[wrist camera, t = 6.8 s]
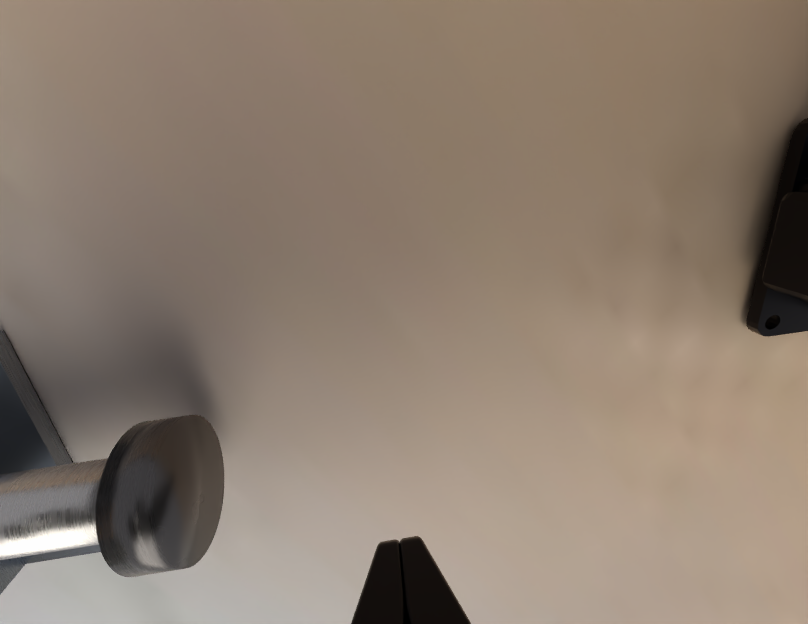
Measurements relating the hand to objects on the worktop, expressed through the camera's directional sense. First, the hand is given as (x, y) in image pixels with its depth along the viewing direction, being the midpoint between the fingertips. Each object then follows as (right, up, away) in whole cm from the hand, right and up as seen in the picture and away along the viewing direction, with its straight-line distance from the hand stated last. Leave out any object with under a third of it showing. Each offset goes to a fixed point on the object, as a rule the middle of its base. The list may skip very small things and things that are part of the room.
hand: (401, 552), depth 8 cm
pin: (-11, 0, +4) cm, 12 cm away
